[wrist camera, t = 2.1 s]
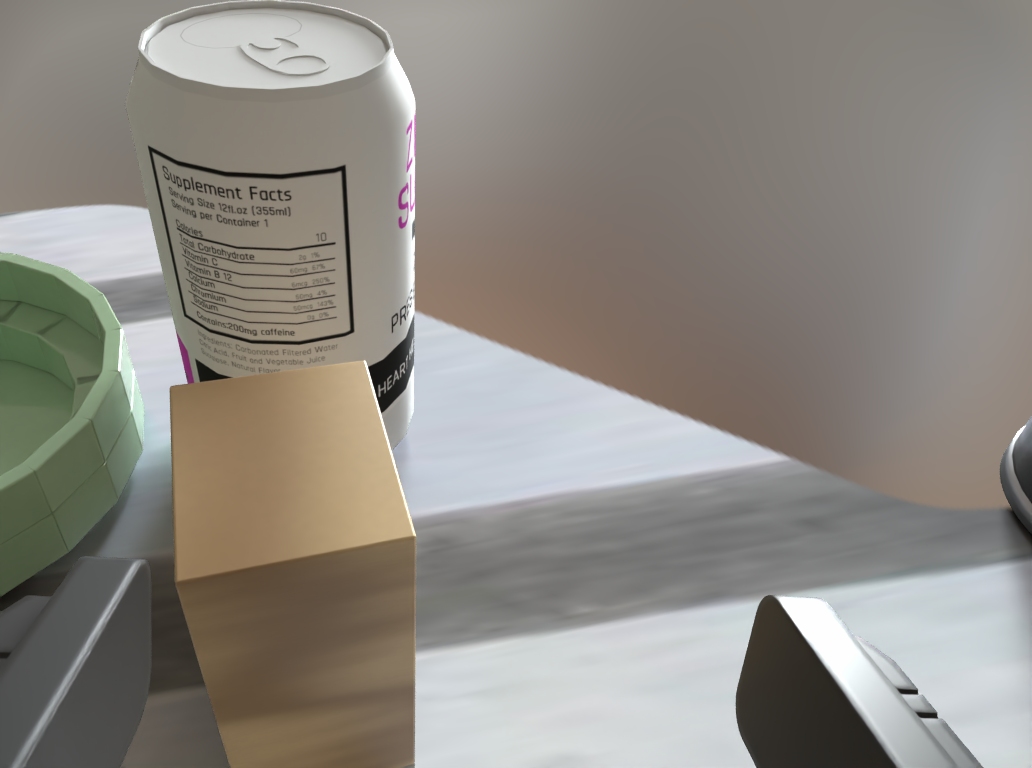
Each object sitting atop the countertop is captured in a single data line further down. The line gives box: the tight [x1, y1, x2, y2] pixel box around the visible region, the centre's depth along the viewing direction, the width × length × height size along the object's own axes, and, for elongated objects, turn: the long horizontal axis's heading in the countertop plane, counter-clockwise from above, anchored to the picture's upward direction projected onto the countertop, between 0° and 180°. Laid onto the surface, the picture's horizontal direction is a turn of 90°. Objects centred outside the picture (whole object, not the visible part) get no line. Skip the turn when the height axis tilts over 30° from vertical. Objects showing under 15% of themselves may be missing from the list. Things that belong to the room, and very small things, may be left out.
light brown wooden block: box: [170, 361, 416, 768], centre depth 21 cm, size 4×6×11 cm
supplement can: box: [125, 0, 415, 450], centre depth 29 cm, size 8×8×15 cm
